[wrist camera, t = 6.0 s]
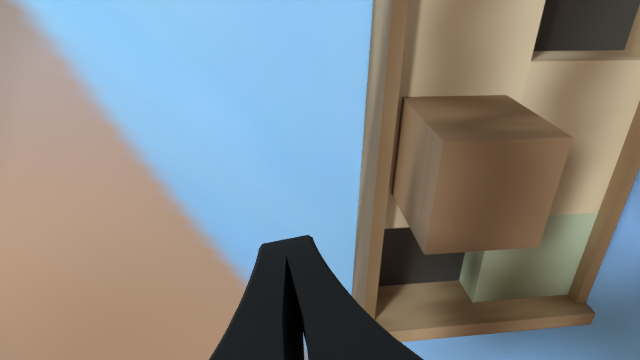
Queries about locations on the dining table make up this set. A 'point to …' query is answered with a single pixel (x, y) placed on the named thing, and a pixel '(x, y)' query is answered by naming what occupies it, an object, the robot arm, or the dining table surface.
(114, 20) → the dining table surface
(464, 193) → the walnut block
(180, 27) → the dining table surface
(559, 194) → the board
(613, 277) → the dining table surface
